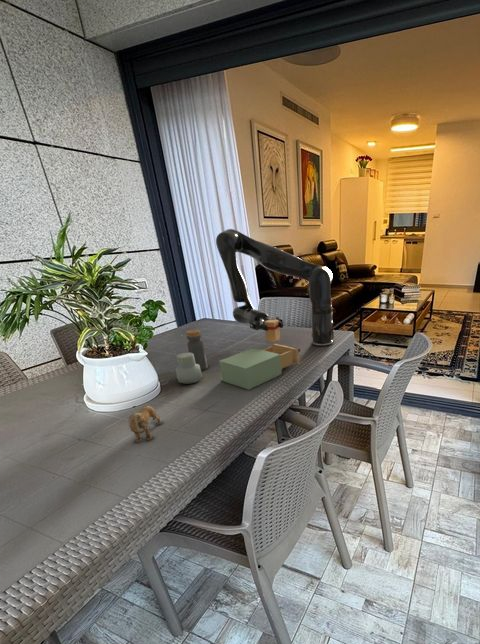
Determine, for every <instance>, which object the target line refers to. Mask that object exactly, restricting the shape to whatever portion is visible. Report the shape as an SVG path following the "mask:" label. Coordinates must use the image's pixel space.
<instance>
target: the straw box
mask: <svg viewBox="0 0 480 644" xmlns="http://www.w3.org/2000/svg"><path fill="white" fill-rule="evenodd" d="M264 323H265V325H267V327H268V331H265V338H266V339H265V340H266V342H277V341H279V340H280V339H281V331H280V327H279V321H278V320H267V321H266V322H264Z"/></svg>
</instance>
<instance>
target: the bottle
mask: <svg viewBox="0 0 480 644" xmlns="http://www.w3.org/2000/svg"><path fill="white" fill-rule="evenodd" d="M185 333H186V339H187V340H188V341H187V348H188V352H189V353H193V354H194V358H195V363H196V364H198V365H200V369H201V371H204V370H207V369H208V365H209V364H208V361H207V355H206V350H205V345H204V341H203V340H201V338H202V335H201V334H200V330H199V329H190V330H189V329H188V330H187V331H186V332H185Z"/></svg>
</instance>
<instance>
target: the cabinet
mask: <svg viewBox="0 0 480 644" xmlns="http://www.w3.org/2000/svg"><path fill="white" fill-rule="evenodd" d="M219 368H220V372H221V378H222V379H221V380H222V382H224V383H228V384H231V385H233V386H237V387H240V388H242V389H245V390H247V391H250V390H251V389H254V388H256V387H257V386H260V385H262V384H264V383H266V382H268V381H270V380H273V379H275V378H277V377H279V376H281V375H282V374H283V373H282V372H283V371H282V370H283V369H281V358H280V354H276V353H272V352H268V351H264V350H263V349H259V348H256V347H253V348H251V349H247V350H245V351H242V352H239V353H237V354H233V355H231V356H229V357H226V358H223V359H220V360H219Z"/></svg>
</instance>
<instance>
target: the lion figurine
mask: <svg viewBox="0 0 480 644" xmlns="http://www.w3.org/2000/svg"><path fill="white" fill-rule="evenodd" d="M151 418H152V421H155V420H156V425H158V426H159V425H161V424H162V421H161V418H160V416H158V415H157V413H156V410H155V409H154V407H152V406H149V405H147V406H144V407H142V408H141V409H140V412H135V413H133V414H131V415H130V416H129V418H128V427H129V429H130V432H133V434H134V435H135V437H136V440H135V441H136V443H140V442H142V437H141V435H142V434H144V433H145V437H146V440H147V441H151V440H152V439H153V437H152V435H151V433H150V428H149V423H150V421H151Z"/></svg>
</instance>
